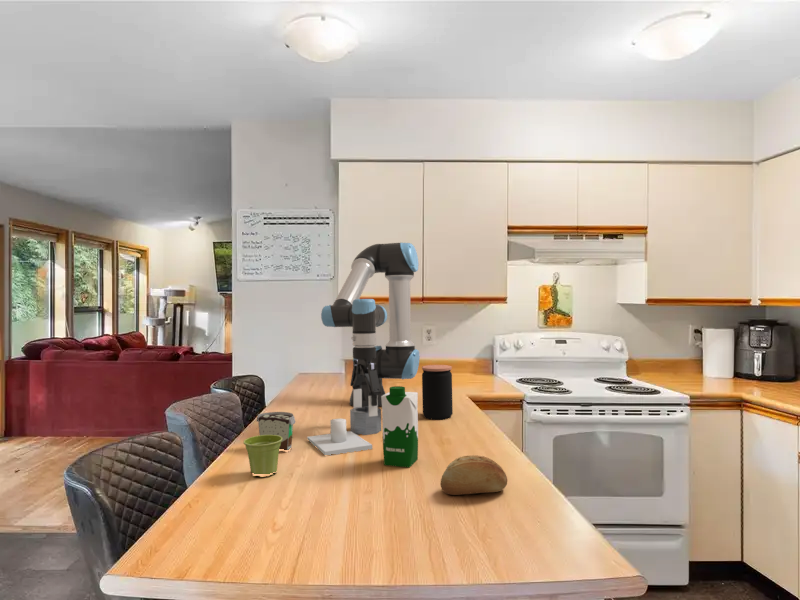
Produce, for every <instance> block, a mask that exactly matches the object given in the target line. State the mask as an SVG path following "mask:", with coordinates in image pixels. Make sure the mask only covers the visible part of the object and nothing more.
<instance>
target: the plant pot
mask: <svg viewBox="0 0 800 600" xmlns="http://www.w3.org/2000/svg"><path fill="white" fill-rule="evenodd" d="M281 441H282V437H281V436H278V435H260V434H259V435H254V436H250V437H247V438H245V439H244V440H243V444H244V445H245V448H246V451H247V457H248V462H249V467H250V473H251V472H252V473H254V474H270V473H273V472H276V471H278V462H279V455H280V452H279V447H280V445H281Z"/></svg>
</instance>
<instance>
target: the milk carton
mask: <svg viewBox="0 0 800 600" xmlns="http://www.w3.org/2000/svg"><path fill="white" fill-rule="evenodd" d="M418 397H419V393H418V392H416V391H406V387H405V386H403V385H401V386H400V385H399V386H398V385H397V386H396V385H395V386H390V387H389V392H385V395H383V396H381V399H382V406H381V424H382V451H383V466H388V467H389V466H390V467H401V468H411V466H412V465H414V464H415V463H416V462H417V461H418V460H419V459H418V458H419V457H418V456H419V421H418V420H419V416H418V411H419V410H418V407H419V406H418V405H419V403H418Z"/></svg>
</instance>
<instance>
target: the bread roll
mask: <svg viewBox="0 0 800 600" xmlns="http://www.w3.org/2000/svg"><path fill="white" fill-rule="evenodd" d="M507 485H508V476H507V474H506V472H505V471H504V469H503V467H502V466H500V464H498V462H496V461H495V460H493V459H491V458H489V457H487V456H483V455H474V454H473V455H463V456H460V457H458V458H455V459H454V460H453V461H451V462H450V463H449V464H448V466H447V467H446V469H445V471H444V472H443V473H442V475H441V478H440V488H441V491H442V492H444V493H445V494H447V495H449V496H460V495H472V494H473V495H474V494H483V493H495V492H500V491H503V490H504V489H505V488H506V487H507Z"/></svg>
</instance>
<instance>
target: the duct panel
mask: <svg viewBox="0 0 800 600" xmlns="http://www.w3.org/2000/svg"><path fill="white" fill-rule="evenodd" d="M306 439H308V440H309V441H310V442H311V443H312V444H313V445H314V446H316V447H317V448H318V449H319V450H320V451H321V452H322V453H323V454H324V455H330V456H332V455H331V454H336V455H341V454H340V453H343V454H348V453H347V452H350V453H355V452H354V451H356V452H360V451H361V450H363V451H369V450H373V444H372V443H371V442H369V441H367V440H365V439H364V438H362V437H361V436H359V434H355V433H353V432H351V430H348V431H347V419H346V418H334V419H330V433H326V434H318V435H310V436H309V435H308V436H306ZM311 443H310V444H311ZM312 444H311V445H312ZM313 445H312V446H313ZM314 446H313V447H314ZM318 449H317V450H318ZM368 449H369V450H368ZM319 450H318V451H319ZM320 451H319V452H320ZM321 452H320V453H321ZM322 453H321V454H322ZM323 454H322V455H323ZM324 455H323V456H324Z"/></svg>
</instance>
